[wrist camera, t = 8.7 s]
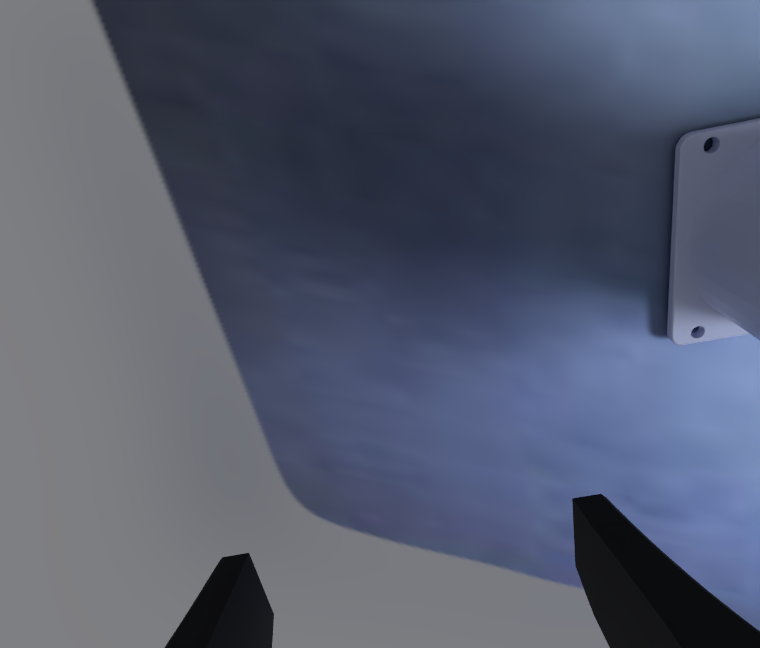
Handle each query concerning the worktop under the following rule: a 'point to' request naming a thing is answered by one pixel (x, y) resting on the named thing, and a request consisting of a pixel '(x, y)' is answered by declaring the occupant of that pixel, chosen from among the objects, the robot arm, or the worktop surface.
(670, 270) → the robot arm
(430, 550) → the worktop surface
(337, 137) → the worktop surface
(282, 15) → the worktop surface
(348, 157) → the worktop surface
